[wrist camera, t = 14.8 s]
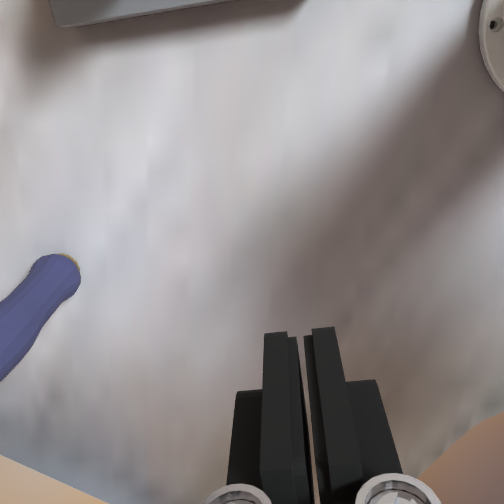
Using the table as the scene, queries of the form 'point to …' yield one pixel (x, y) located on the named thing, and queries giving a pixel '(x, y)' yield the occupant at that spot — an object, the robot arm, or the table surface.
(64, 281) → the rubber mallet
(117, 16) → the breaker panel
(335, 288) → the table surface
